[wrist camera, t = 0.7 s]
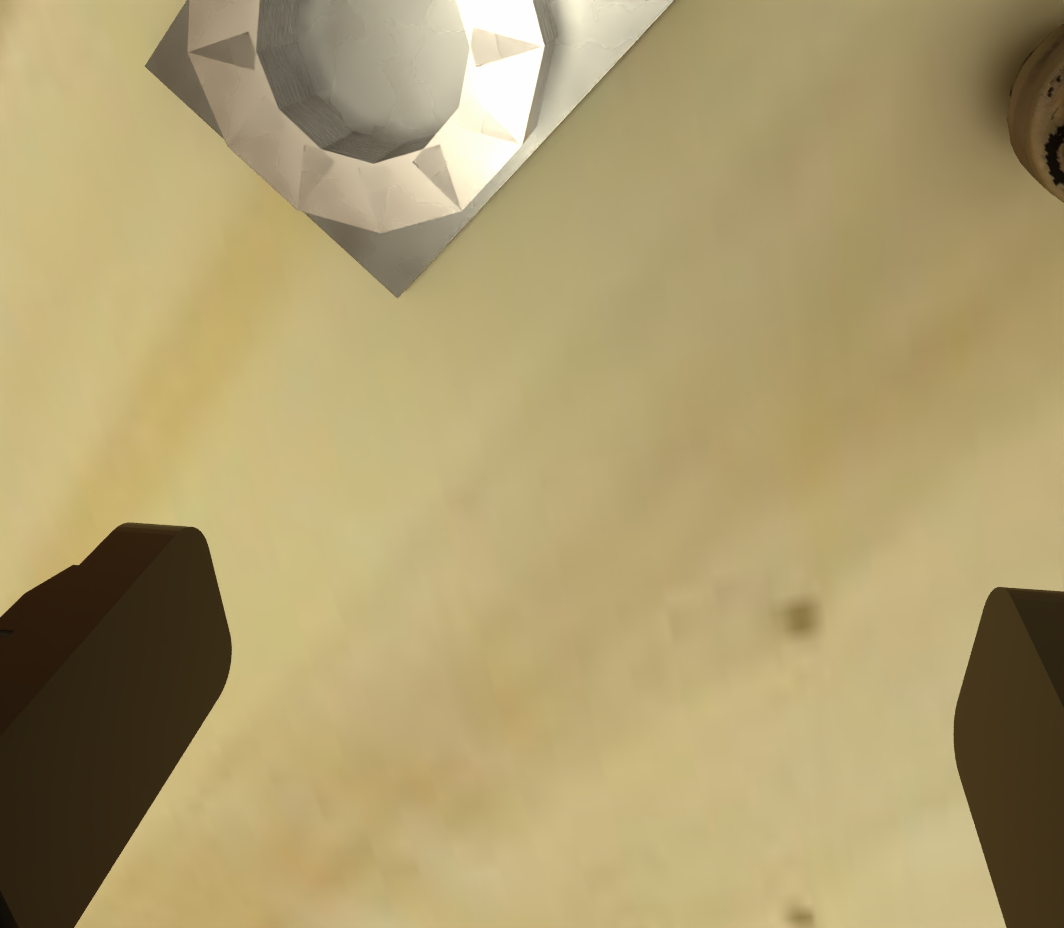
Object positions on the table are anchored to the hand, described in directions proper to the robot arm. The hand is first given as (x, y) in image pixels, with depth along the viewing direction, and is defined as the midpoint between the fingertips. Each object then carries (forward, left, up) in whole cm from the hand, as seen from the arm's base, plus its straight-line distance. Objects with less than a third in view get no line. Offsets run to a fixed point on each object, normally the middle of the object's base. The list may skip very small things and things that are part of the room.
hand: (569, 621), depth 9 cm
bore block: (+1, -9, -27) cm, 28 cm away
